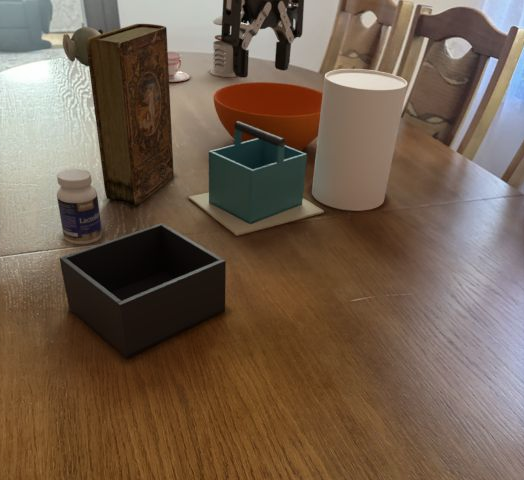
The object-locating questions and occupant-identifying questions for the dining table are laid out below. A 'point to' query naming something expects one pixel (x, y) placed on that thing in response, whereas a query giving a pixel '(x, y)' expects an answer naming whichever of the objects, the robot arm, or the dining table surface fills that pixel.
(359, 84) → the canister
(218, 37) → the french press
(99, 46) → the book
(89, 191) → the pill bottle
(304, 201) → the cream mat
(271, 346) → the dining table surface
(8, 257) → the dining table surface
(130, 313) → the charcoal bin
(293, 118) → the bowl
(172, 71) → the teacup
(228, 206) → the teal bin
